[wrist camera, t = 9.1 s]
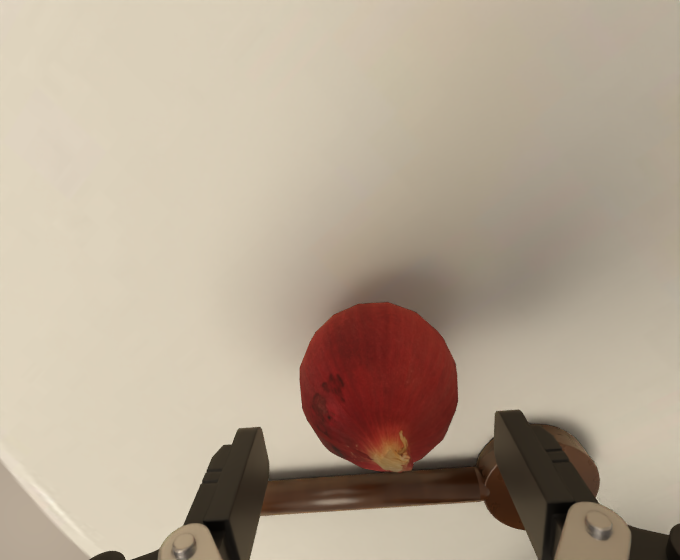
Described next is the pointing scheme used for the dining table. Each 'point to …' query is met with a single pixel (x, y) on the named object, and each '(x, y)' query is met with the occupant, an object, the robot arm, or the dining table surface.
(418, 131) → the dining table surface
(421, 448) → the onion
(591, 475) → the spoon
